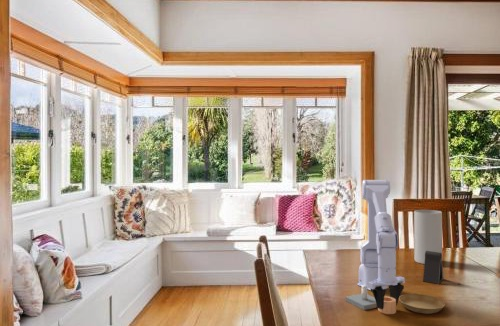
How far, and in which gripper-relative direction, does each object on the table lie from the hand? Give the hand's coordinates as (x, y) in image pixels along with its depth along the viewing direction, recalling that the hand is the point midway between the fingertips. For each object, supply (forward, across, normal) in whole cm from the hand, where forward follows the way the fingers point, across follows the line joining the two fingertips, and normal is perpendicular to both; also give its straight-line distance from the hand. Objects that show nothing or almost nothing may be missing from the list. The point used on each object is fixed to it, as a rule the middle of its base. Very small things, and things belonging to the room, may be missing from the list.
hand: (387, 306), depth 137 cm
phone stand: (+2, +42, +17) cm, 45 cm away
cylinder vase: (+2, +64, +39) cm, 75 cm away
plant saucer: (+2, +13, -3) cm, 13 cm away
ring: (+1, 0, 0) cm, 1 cm away
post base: (+1, -2, +9) cm, 9 cm away
